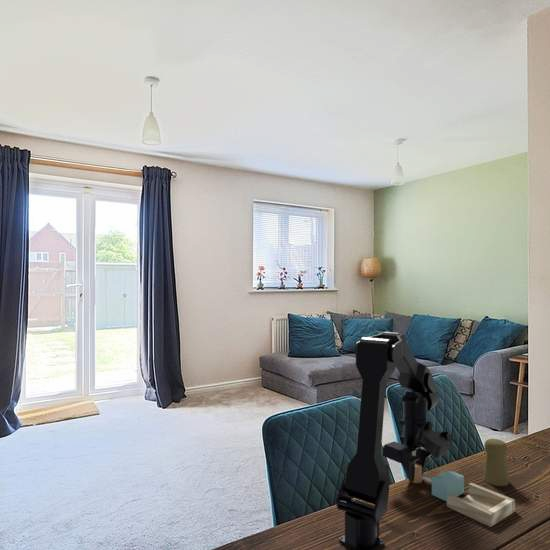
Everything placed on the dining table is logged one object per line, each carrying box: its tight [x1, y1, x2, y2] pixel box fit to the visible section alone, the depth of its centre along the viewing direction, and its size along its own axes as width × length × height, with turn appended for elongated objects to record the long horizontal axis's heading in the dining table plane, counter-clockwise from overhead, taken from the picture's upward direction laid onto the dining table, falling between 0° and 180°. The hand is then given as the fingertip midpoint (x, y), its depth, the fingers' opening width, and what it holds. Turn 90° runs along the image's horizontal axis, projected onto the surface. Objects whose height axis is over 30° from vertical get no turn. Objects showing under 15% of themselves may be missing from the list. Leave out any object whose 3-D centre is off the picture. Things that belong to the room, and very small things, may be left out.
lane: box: [446, 482, 516, 528], centre depth 99 cm, size 10×10×4 cm
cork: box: [482, 438, 510, 487], centre depth 113 cm, size 6×6×11 cm
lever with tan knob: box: [412, 463, 465, 502], centre depth 109 cm, size 7×12×5 cm, turn 36°
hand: (415, 479), depth 113 cm, fingers closed on lever with tan knob, 3 cm apart
